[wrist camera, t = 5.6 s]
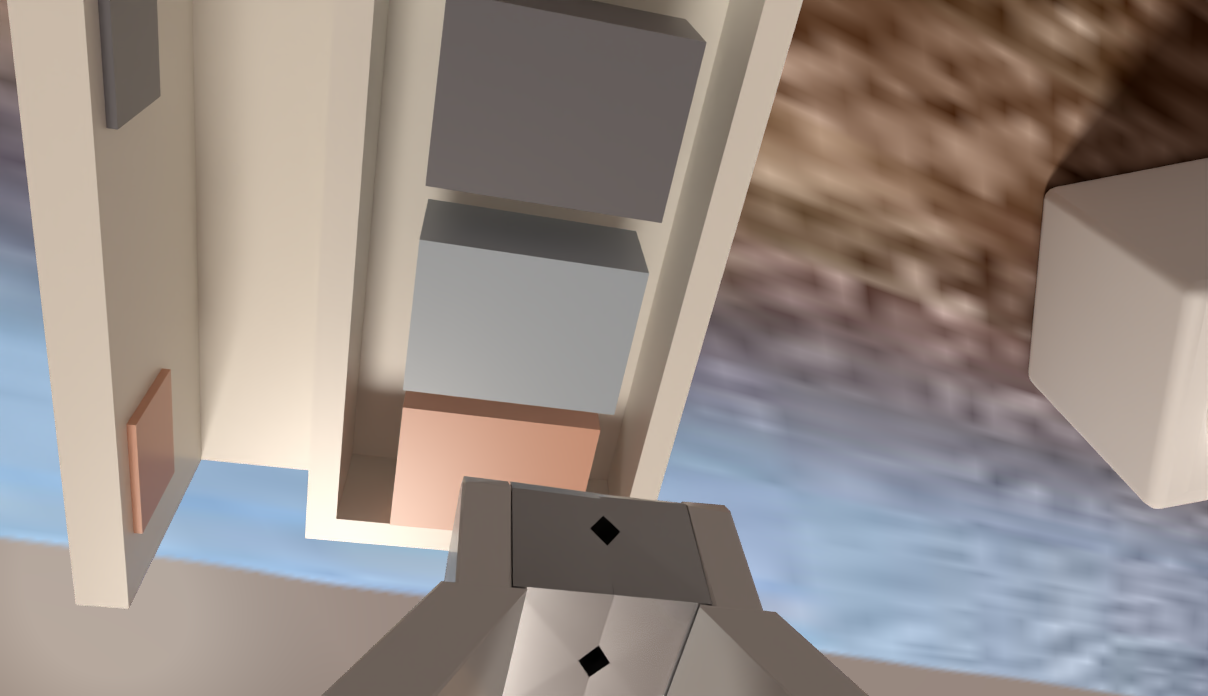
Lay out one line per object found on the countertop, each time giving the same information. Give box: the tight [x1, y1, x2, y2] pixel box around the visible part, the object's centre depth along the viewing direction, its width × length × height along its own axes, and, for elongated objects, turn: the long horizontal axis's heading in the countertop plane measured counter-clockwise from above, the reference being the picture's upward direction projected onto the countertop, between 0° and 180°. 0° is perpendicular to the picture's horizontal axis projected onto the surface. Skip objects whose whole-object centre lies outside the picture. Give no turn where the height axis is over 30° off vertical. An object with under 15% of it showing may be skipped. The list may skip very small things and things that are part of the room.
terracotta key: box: [390, 391, 600, 531], centre depth 25 cm, size 5×4×2 cm
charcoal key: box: [425, 0, 707, 223], centre depth 19 cm, size 5×4×2 cm
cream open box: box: [7, 0, 803, 609], centre depth 22 cm, size 14×17×8 cm
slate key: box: [403, 199, 649, 415], centre depth 21 cm, size 5×4×2 cm
